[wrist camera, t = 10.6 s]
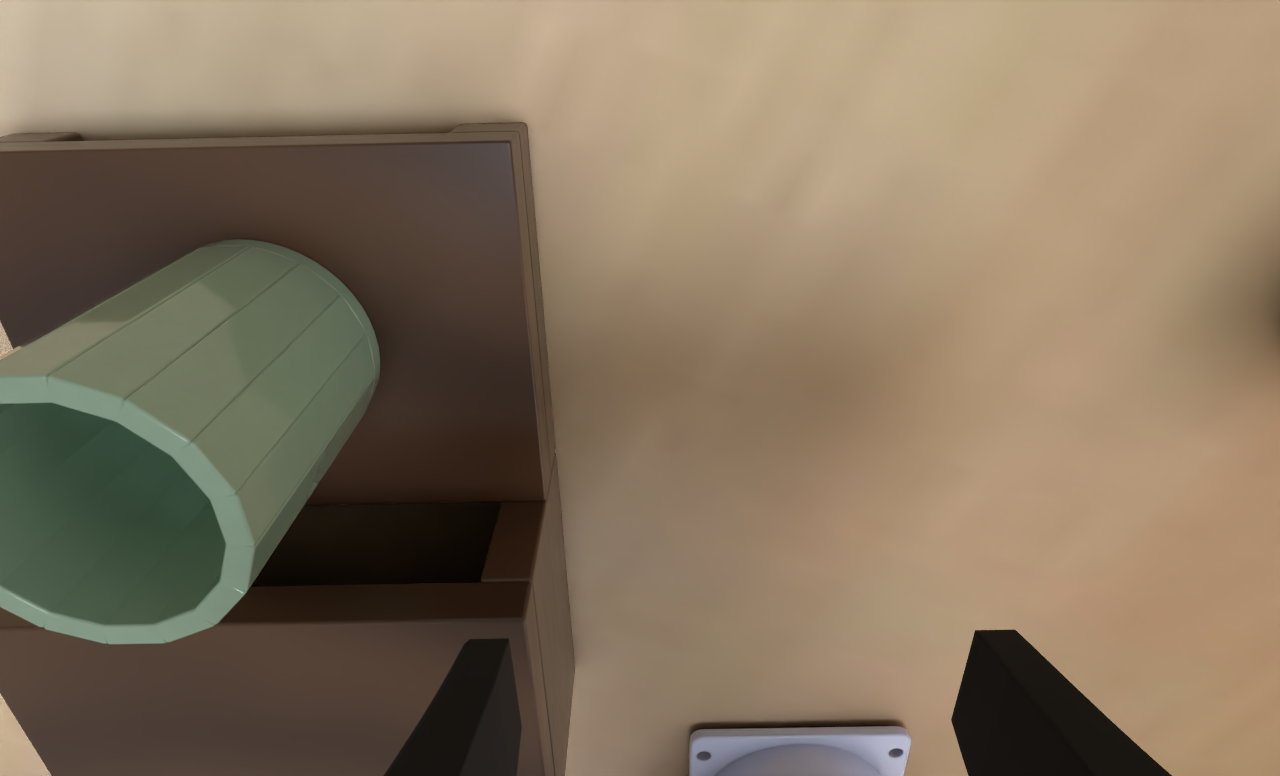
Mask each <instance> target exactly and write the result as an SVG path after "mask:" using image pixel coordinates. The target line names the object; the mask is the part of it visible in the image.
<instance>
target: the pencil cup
mask: <svg viewBox="0 0 1280 776" xmlns="http://www.w3.org/2000/svg"><path fill="white" fill-rule="evenodd" d="M379 374H380V354H379V346H378V342H377V339H376V335H375V331H374V329H373V327H372V324H371V322H370V320H369V318H368V316H367V314H366V312H365V311H364V309H363V307H362V306H361V304H360V303H359V302H358V300H357V299H356V297H355V296H354V295H353V293H352V292H351V291H350V290H349V289H348V288H347V287H346V286H345V285H344V284H343V283H342V282H341V281H340V280H339V279H338V278H337V277H336V276H334V275H333V274H332V273H331V272H330V271H328V270H327V269H326V268H324V267H323V266H321V265H320V264H318V263H317V262H315V261H313V260H312V259H310V258H308V257H306V256H304V255H302V254H301V253H298V252H296V251H293V250H291V249H288V248H286V247H283V246H279V245H276V244H272V243H268V242H262V241H256V240H242V239H235V240H223V241H218V242H214V243H209V244H206V245H203V246H201V247H198V248H196V249H194V250H192V251H190V252H188V253H187V254H185V255H183V256H181V257H179V258H177V259H175V260H173V261H171V262H169V263H167V264H165V265H163V266H161V267H159V268H157V269H156V270H154V271H152V272H150V273H149V274H147V275H145V276H143V277H141V278H140V279H138V280H136V281H134V282H132V283H131V284H129V285H127V286H125V287H124V288H122V289H120V290H118V291H116V292H115V293H113V294H111V295H109V296H107V297H106V298H104V299H102V300H100V301H99V302H97V303H95V304H93V305H91V306H90V307H88V308H86V309H84V310H82V311H81V312H79V313H77V314H75V315H73V316H72V317H70V318H68V319H66V320H65V321H63V322H61V323H59V324H57V325H56V326H54V327H52V328H50V329H48V330H47V331H45V332H43V333H41V334H40V335H38V336H36V337H34V338H32V339H31V340H29V341H27V342H25V343H23V344H22V345H20V346H18V347H16V348H14V349H13V350H11V351H9V352H7V353H6V354H4V355H2V356H0V607H1V608H3V609H5V610H7V611H9V612H11V613H13V614H15V615H17V616H19V617H21V618H23V619H25V620H27V621H29V622H31V623H33V624H35V625H37V626H39V627H42V628H43V627H44V629H46V630H50V631H54V632H58V633H62V634H66V635H70V636H74V637H78V638H82V639H86V640H90V641H94V642H98V643H103V644H106V643H108V644H110V645H112V644H164V643H166V642H167V643H169V642H172V641H175V640H177V639H180V638H183V637H186V636H188V635H191V634H194V633H197V632H199V631H202V630H205V629H208V628H210V627H213V626H214V625H216V624H217V623H219V622H220V621H221V620H222V619H223V617H224V616H225V615H226V614H227V613H228V612H229V611H230V610H231V609H232V608H233V607H234V606H235V605H236V604H237V603H238V602H239V600H240V599H241V598H242V597H243V596H244V595H245V594H246V593H247V591H248V590H249V588H250V587H251V585H252V584H253V582H254V581H255V579H256V578H257V576H258V575H259V573H260V572H261V570H262V569H263V567H264V566H265V564H266V563H267V561H268V560H269V558H270V556H271V555H272V553H273V552H274V550H275V549H276V547H277V546H278V544H279V543H280V541H281V540H282V538H283V537H284V535H285V534H286V532H287V531H288V529H289V528H290V526H291V525H292V523H293V522H294V520H295V519H296V517H297V516H298V514H299V513H300V511H301V509H302V508H303V506H304V505H305V503H306V502H307V500H308V499H309V497H310V496H311V494H312V493H313V491H314V490H315V488H316V487H317V485H318V484H319V482H320V481H321V479H322V478H323V476H324V475H325V473H326V472H327V470H328V469H329V467H330V466H331V464H332V462H333V461H334V459H335V458H336V456H337V455H338V453H339V452H340V450H341V449H342V447H343V446H344V444H345V443H346V441H347V440H348V438H349V437H350V435H351V434H352V432H353V431H354V429H355V428H356V426H357V425H358V423H359V422H360V420H361V419H362V417H363V415H364V414H365V412H366V410H367V408H368V405H369V403H370V401H371V400H372V398H373V396H374V394H375V391H376V388H377V385H378V380H379Z"/></svg>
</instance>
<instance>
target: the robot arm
mask: <svg viewBox="0 0 1280 776" xmlns="http://www.w3.org/2000/svg"><path fill="white" fill-rule="evenodd" d="M951 720H952V724H953V727H954V730H955V734H956V737H957V740H958V744H959V747H960V750H961V754H962V757H963V760H964V763H965V766H966V769H967V772H968V775H969V776H1172V775H1170V774H1169V773H1168V772H1167V771H1166V770H1165V769H1164V768H1162V767H1161V766H1160V765H1159V764H1158V763H1157V762H1156V761H1154V760H1153V759H1152V758H1151V757H1150V756H1149V755H1148V754H1147V753H1146V752H1144V751H1143V750H1142V749H1141V748H1140V747H1139V746H1138V745H1137V744H1136V743H1135V742H1133V741H1132V740H1131V739H1130V738H1129V737H1128V736H1127V735H1126V734H1125V733H1124V732H1122V731H1121V730H1120V729H1119V728H1118V727H1117V726H1116V725H1115V724H1114V723H1113V722H1112V721H1111V720H1110V719H1108V718H1107V717H1106V716H1105V715H1104V714H1103V713H1102V712H1101V711H1100V710H1099V709H1098V708H1097V707H1096V706H1095V705H1094V704H1092V703H1091V702H1090V701H1089V700H1088V699H1087V698H1086V697H1085V696H1084V695H1083V694H1082V693H1081V692H1080V691H1079V690H1078V689H1077V688H1076V687H1075V686H1073V685H1072V684H1071V683H1070V682H1069V681H1068V680H1067V679H1066V678H1065V677H1064V676H1063V675H1062V674H1061V673H1060V672H1059V671H1058V670H1057V669H1056V668H1055V667H1054V666H1053V665H1052V664H1051V663H1050V662H1049V661H1047V660H1046V659H1045V658H1044V657H1043V656H1042V655H1041V654H1040V653H1039V652H1038V651H1037V650H1036V649H1035V648H1034V647H1033V646H1032V645H1031V644H1030V643H1029V642H1028V641H1027V640H1025V639H1024V638H1023V637H1022V636H1021V635H1020V634H1019V633H1018V632H1017V631H1016V630H975V633H974V637H973V641H972V645H971V648H970V652H969V656H968V660H967V663H966V667H965V671H964V674H963V678H962V682H961V686H960V689H959V693H958V697H957V701H956V704H955V708H954V712H953V716H952V719H951ZM521 730H522V724H521V718H520V711H519V704H518V697H517V690H516V683H515V676H514V669H513V662H512V655H511V648H510V641H509V638H497V639H469V640H468V641H467V642H466V643H465V644H464V645H463V647H462V649H461V650H460V652H459V654H458V656H457V658H456V660H455V662H454V663H453V665H452V667H451V669H450V671H449V672H448V674H447V676H446V678H445V679H444V681H443V683H442V685H441V686H440V688H439V690H438V691H437V693H436V695H435V696H434V698H433V700H432V701H431V703H430V705H429V706H428V708H427V710H426V711H425V713H424V715H423V716H422V718H421V719H420V721H419V723H418V724H417V726H416V727H415V729H414V730H413V732H412V733H411V735H410V736H409V738H408V739H407V741H406V742H405V744H404V746H403V747H402V749H401V750H400V752H399V753H398V755H397V756H396V758H395V759H394V761H393V762H392V764H391V765H390V767H389V768H388V770H387V771H386V773H385V774H384V776H517V769H518V759H519V749H520V740H521ZM910 745H911V738H910V735H909V733H908V731H907V730H906V729H905V728H903V727H900V726H869V727H806V728H744V729H701V730H697V731H695V732H694V733H693V734H692V735H691V736H690V747H689V776H903V775H904V771H905V767H906V762H907V758H908V754H909V750H910Z"/></svg>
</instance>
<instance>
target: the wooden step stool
mask: <svg viewBox="0 0 1280 776" xmlns="http://www.w3.org/2000/svg"><path fill="white" fill-rule="evenodd" d="M235 239H242V240H256V241H262V242H268V243H272V244H276V245H279V246H283V247H286V248H288V249H291V250H293V251H296V252H298V253H301V254H302V255H304V256H306V257H308V258H310V259H312V260H313V261H315V262H317V263H318V264H320V265H321V266H323V267H324V268H326V269H327V270H328V271H330V272H331V273H332V274H333V275H334V276H336V277H337V278H338V279H339V280H340V281H341V282H342V283H343V284H344V285H345V286H346V287H347V288H348V289H349V290H350V291H351V292H352V293H353V295H354V296H355V297H356V299H357V300H358V302H359V303H360V304H361V306H362V307H363V309H364V311H365V312H366V314H367V316H368V318H369V320H370V322H371V324H372V327H373V329H374V331H375V335H376V339H377V342H378V346H379V354H380V374H379V380H378V385H377V388H376V391H375V394H374V396H373V398H372V400H371V401H370V403H369V405H368V408H367V410H366V412H365V414H364V415H363V417H362V419H361V420H360V422H359V423H358V425H357V426H356V428H355V429H354V431H353V432H352V434H351V435H350V437H349V438H348V440H347V441H346V443H345V444H344V446H343V447H342V449H341V450H340V452H339V453H338V455H337V456H336V458H335V459H334V461H333V462H332V464H331V466H330V467H329V469H328V470H327V472H326V473H325V475H324V476H323V478H322V479H321V481H320V482H319V484H318V485H317V487H316V488H315V490H314V491H313V493H312V494H311V496H310V497H309V499H308V500H307V502H306V503H305V505H332V504H387V503H442V502H497V501H502V503H501V506H500V510H499V514H498V517H497V521H496V525H495V528H494V532H493V536H492V540H491V543H490V547H489V551H488V554H487V558H486V562H485V565H484V569H483V573H482V576H481V580H480V583H429V584H371V585H314V586H256V587H250V588H249V590H248V591H247V593H246V594H245V595H244V596H243V597H242V598H241V599H240V600H239V602H238V603H237V604H236V605H235V606H234V607H233V608H232V609H231V610H230V611H229V612H228V613H227V614H226V615H225V616H224V617H223V619H222V620H221V621H220V622H219V623H217V624H216V625H214V626H213V627H210V628H208V629H205V630H202V631H199V632H197V633H194V634H191V635H188V636H186V637H183V638H180V639H177V640H175V641H172V642H169V643H167V642H166V643H164V644H112V645H110V644H108V643H106V644H103V643H98V642H94V641H90V640H86V639H82V638H78V637H74V636H70V635H66V634H62V633H58V632H54V631H50V630H46V629H44V627H43V628H42V627H39V626H37V625H35V624H33V623H31V622H29V621H27V620H25V619H23V618H21V617H19V616H17V615H15V614H13V613H11V612H9V611H7V610H5V609H3V608H1V607H0V694H1V695H2V697H3V698H4V700H5V702H6V703H7V705H8V706H9V708H10V710H11V711H12V713H13V714H14V716H15V718H16V719H17V721H18V722H19V724H20V726H21V727H22V729H23V730H24V732H25V734H26V735H27V737H28V738H29V740H30V741H31V743H32V745H33V746H34V748H35V749H36V751H37V753H38V754H39V756H40V757H41V759H42V761H43V762H44V764H45V765H46V767H47V769H48V770H49V772H50V773H51V775H52V776H384V774H385V773H386V771H387V770H388V768H389V767H390V765H391V764H392V762H393V761H394V759H395V758H396V756H397V755H398V753H399V752H400V750H401V749H402V747H403V746H404V744H405V742H406V741H407V739H408V738H409V736H410V735H411V733H412V732H413V730H414V729H415V727H416V726H417V724H418V723H419V721H420V719H421V718H422V716H423V715H424V713H425V711H426V710H427V708H428V706H429V705H430V703H431V701H432V700H433V698H434V696H435V695H436V693H437V691H438V690H439V688H440V686H441V685H442V683H443V681H444V679H445V678H446V676H447V674H448V672H449V671H450V669H451V667H452V665H453V663H454V662H455V660H456V658H457V656H458V654H459V652H460V650H461V649H462V647H463V645H464V644H465V643H466V642H467V641H468V640H469V639H497V638H509V641H510V648H511V655H512V662H513V669H514V676H515V683H516V690H517V697H518V704H519V711H520V718H521V724H522V730H521V740H520V749H519V759H518V769H517V776H565V768H566V757H567V747H568V736H569V725H570V715H571V704H572V693H573V683H574V672H575V664H574V653H573V641H572V630H571V619H570V607H569V596H568V584H567V573H566V562H565V550H564V539H563V528H562V516H561V505H560V494H559V482H558V471H557V460H556V453H555V437H554V426H553V415H552V403H551V392H550V381H549V369H548V358H547V346H546V335H545V324H544V312H543V301H542V290H541V278H540V267H539V256H538V244H537V233H536V222H535V210H534V199H533V188H532V176H531V165H530V154H529V142H528V131H527V126H526V124H524V123H490V124H461V125H459V126H457V127H456V128H455V129H453V130H452V131H450V132H449V133H423V134H377V135H331V136H285V137H238V138H192V139H146V140H100V141H83V140H82V138H81V136H80V134H78V133H30V134H11V135H7V136H2V137H0V321H1V324H2V326H3V328H4V330H5V332H6V334H7V336H8V339H9V341H10V343H11V345H12V347H13V349H14V348H16V347H18V346H20V345H22V344H23V343H25V342H27V341H29V340H31V339H32V338H34V337H36V336H38V335H40V334H41V333H43V332H45V331H47V330H48V329H50V328H52V327H54V326H56V325H57V324H59V323H61V322H63V321H65V320H66V319H68V318H70V317H72V316H73V315H75V314H77V313H79V312H81V311H82V310H84V309H86V308H88V307H90V306H91V305H93V304H95V303H97V302H99V301H100V300H102V299H104V298H106V297H107V296H109V295H111V294H113V293H115V292H116V291H118V290H120V289H122V288H124V287H125V286H127V285H129V284H131V283H132V282H134V281H136V280H138V279H140V278H141V277H143V276H145V275H147V274H149V273H150V272H152V271H154V270H156V269H157V268H159V267H161V266H163V265H165V264H167V263H169V262H171V261H173V260H175V259H177V258H179V257H181V256H183V255H185V254H187V253H188V252H190V251H192V250H194V249H196V248H198V247H201V246H203V245H206V244H209V243H214V242H218V241H223V240H235Z"/></svg>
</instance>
